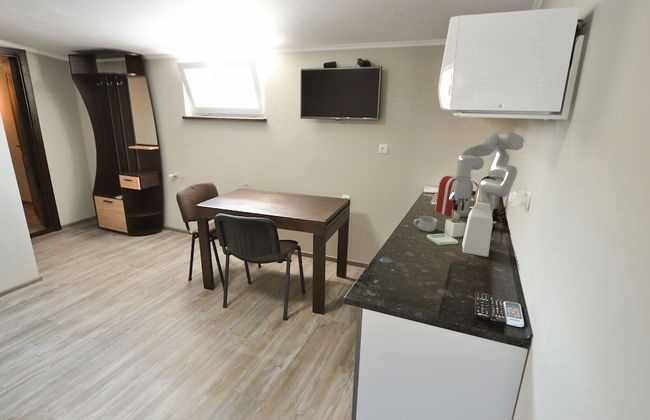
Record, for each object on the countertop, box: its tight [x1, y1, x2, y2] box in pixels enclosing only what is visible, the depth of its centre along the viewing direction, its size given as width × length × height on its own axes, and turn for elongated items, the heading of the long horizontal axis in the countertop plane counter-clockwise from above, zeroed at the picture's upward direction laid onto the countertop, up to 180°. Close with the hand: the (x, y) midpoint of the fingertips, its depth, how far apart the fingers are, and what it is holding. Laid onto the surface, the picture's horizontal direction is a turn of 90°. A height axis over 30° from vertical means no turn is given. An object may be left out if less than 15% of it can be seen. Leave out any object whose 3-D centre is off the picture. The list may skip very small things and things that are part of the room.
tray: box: [426, 233, 459, 246], centre depth 183 cm, size 12×12×2 cm
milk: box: [461, 202, 494, 258], centre depth 168 cm, size 12×12×26 cm
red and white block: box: [434, 175, 474, 219], centre depth 236 cm, size 17×18×27 cm
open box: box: [443, 218, 466, 238], centre depth 192 cm, size 8×8×9 cm
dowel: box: [452, 199, 463, 223], centre depth 189 cm, size 4×4×16 cm
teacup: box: [413, 215, 438, 233], centre depth 198 cm, size 14×11×8 cm
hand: (458, 209), depth 189 cm, fingers closed on dowel, 3 cm apart
